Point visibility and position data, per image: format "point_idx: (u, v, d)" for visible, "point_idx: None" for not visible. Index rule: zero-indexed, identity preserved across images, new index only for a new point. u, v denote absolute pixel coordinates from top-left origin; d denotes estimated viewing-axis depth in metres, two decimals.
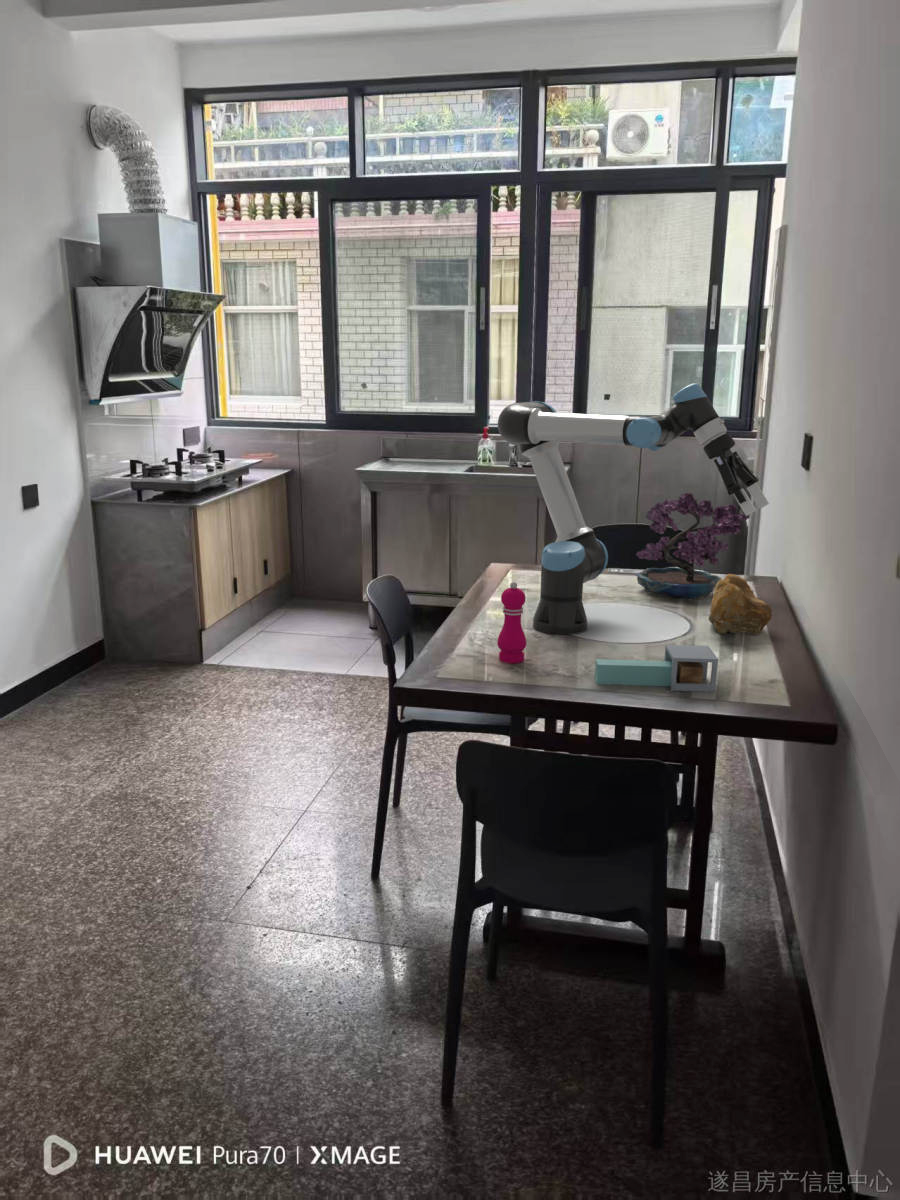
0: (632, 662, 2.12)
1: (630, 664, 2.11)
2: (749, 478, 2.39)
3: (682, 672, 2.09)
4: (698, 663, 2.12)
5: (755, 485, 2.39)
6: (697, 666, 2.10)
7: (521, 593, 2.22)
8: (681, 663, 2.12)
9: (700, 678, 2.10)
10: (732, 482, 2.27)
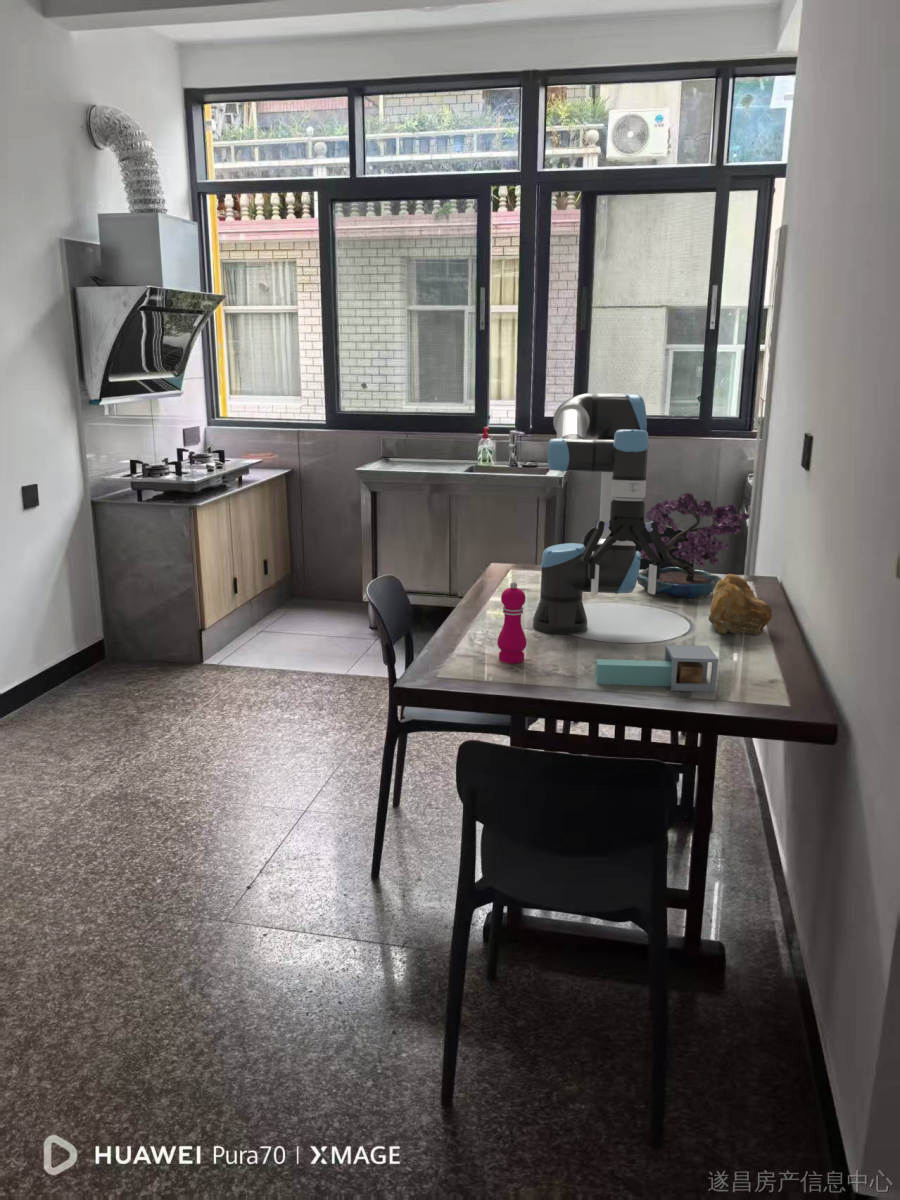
0: (632, 662, 2.12)
1: (630, 664, 2.11)
2: (651, 557, 2.07)
3: (682, 672, 2.09)
4: (698, 663, 2.12)
5: (652, 568, 2.07)
6: (697, 666, 2.10)
7: (521, 593, 2.22)
8: (681, 663, 2.12)
9: (700, 678, 2.10)
10: (585, 554, 2.04)
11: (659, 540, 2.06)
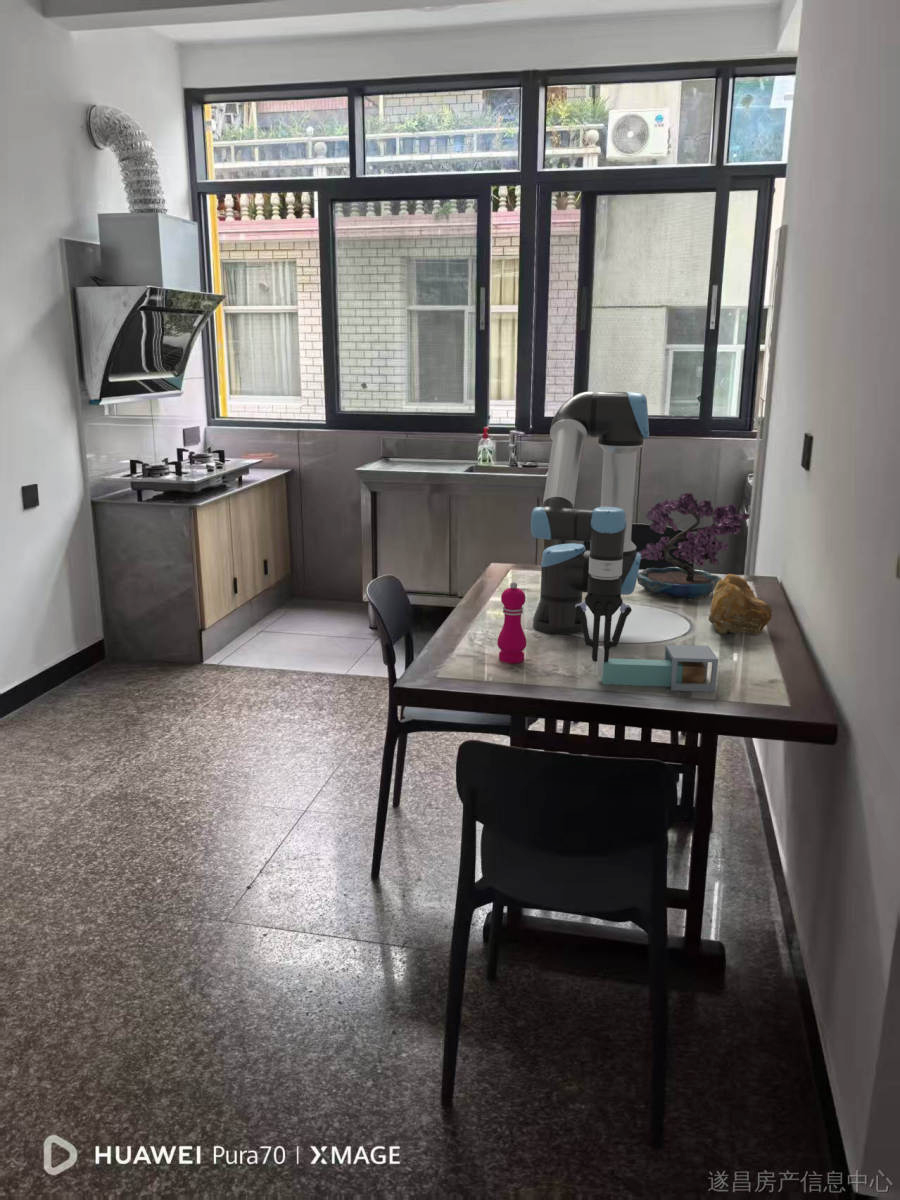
0: (639, 662, 2.12)
1: (637, 663, 2.11)
2: (604, 638, 2.10)
3: (684, 672, 2.09)
4: (700, 663, 2.12)
5: None
6: (699, 666, 2.09)
7: (521, 593, 2.22)
8: (683, 663, 2.11)
9: (702, 678, 2.10)
10: (584, 639, 2.10)
11: (622, 625, 2.09)
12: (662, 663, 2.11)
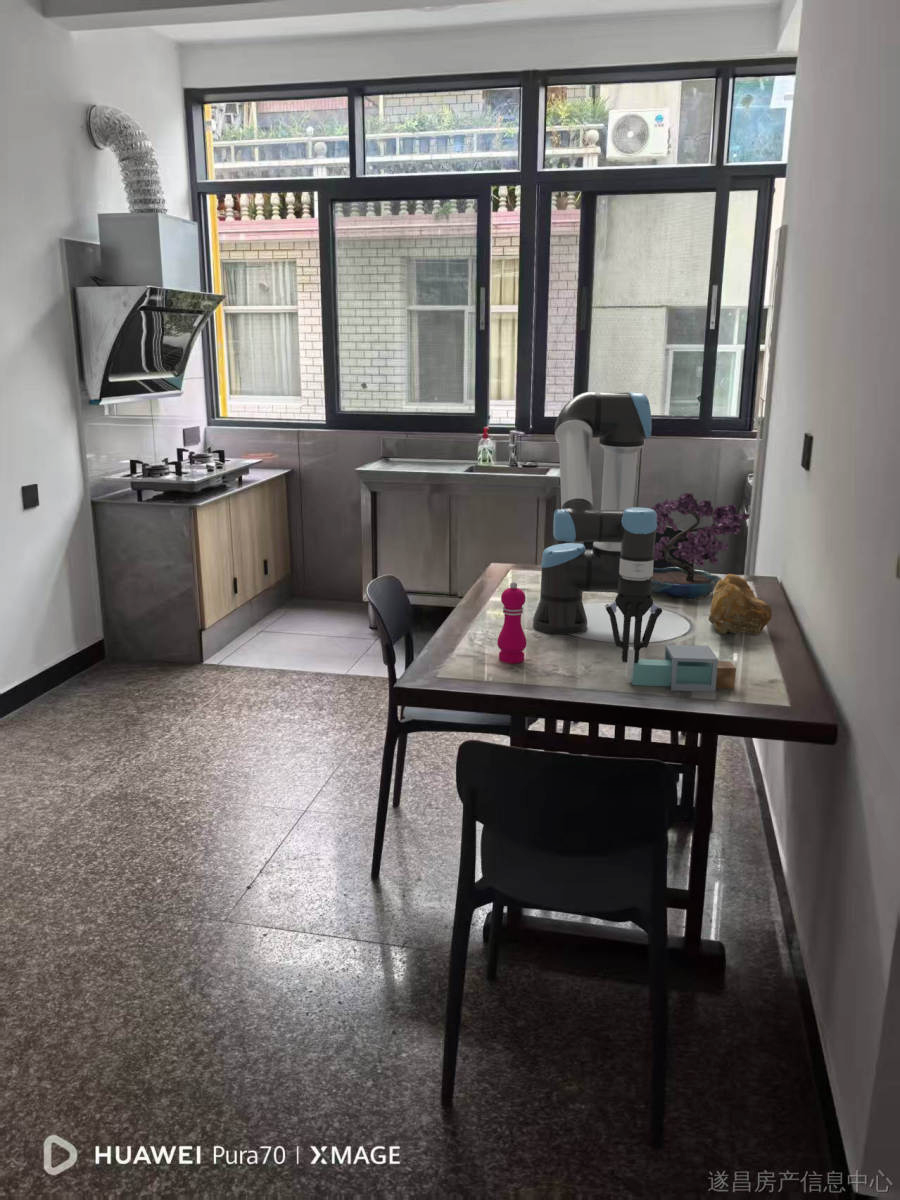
0: (669, 662, 2.12)
1: (667, 664, 2.10)
2: (635, 638, 2.10)
3: None
4: (730, 664, 2.11)
5: None
6: (729, 667, 2.09)
7: (521, 593, 2.22)
8: None
9: (732, 679, 2.09)
10: (614, 640, 2.10)
11: (652, 625, 2.08)
12: (692, 664, 2.11)
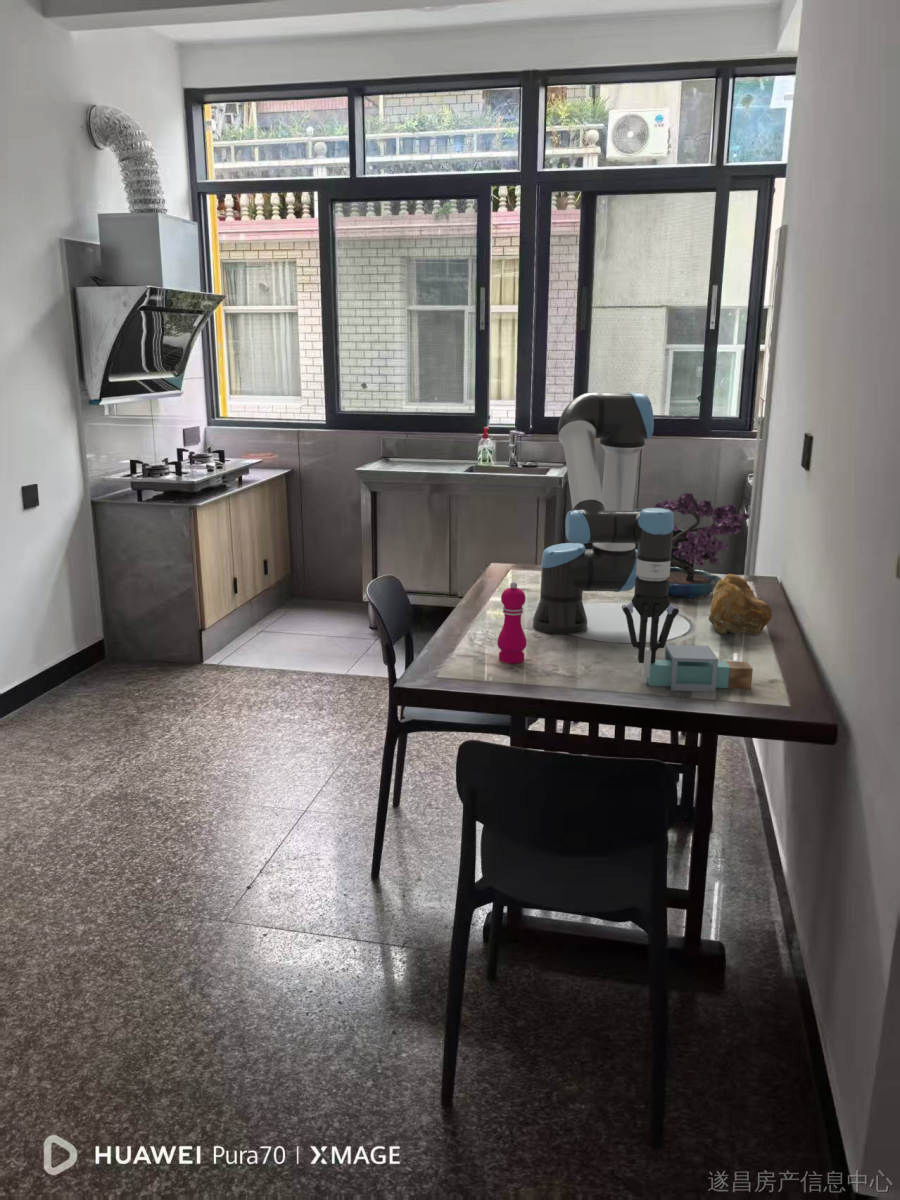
0: (685, 663, 2.11)
1: (684, 664, 2.10)
2: (651, 639, 2.10)
3: (731, 673, 2.09)
4: (747, 664, 2.11)
5: None
6: (746, 667, 2.09)
7: (521, 593, 2.22)
8: (730, 664, 2.11)
9: (749, 679, 2.09)
10: (631, 641, 2.10)
11: (669, 626, 2.08)
12: (709, 664, 2.11)
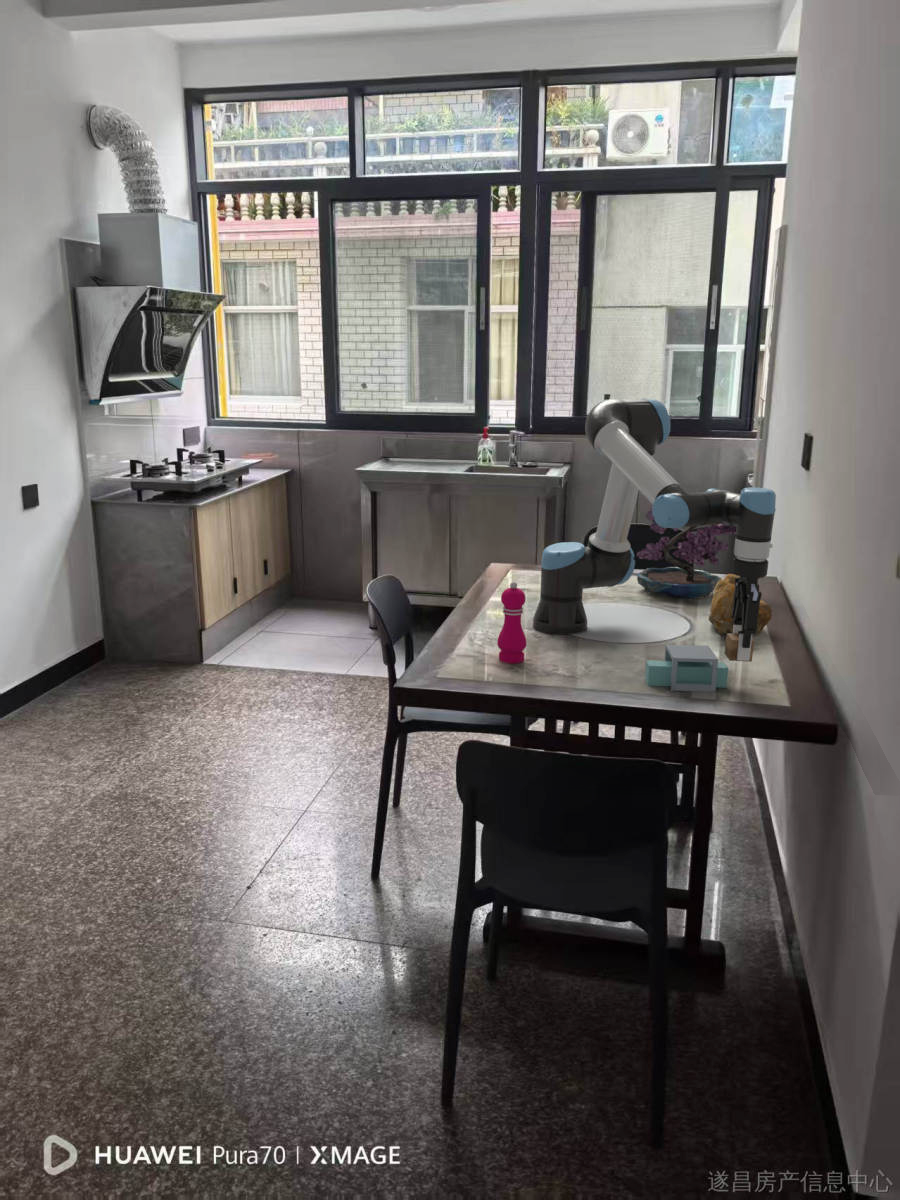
0: (684, 663, 2.12)
1: (682, 665, 2.11)
2: None
3: (732, 645, 2.08)
4: None
5: None
6: None
7: (521, 593, 2.22)
8: (731, 636, 2.10)
9: None
10: (754, 628, 2.02)
11: None
12: (707, 665, 2.11)
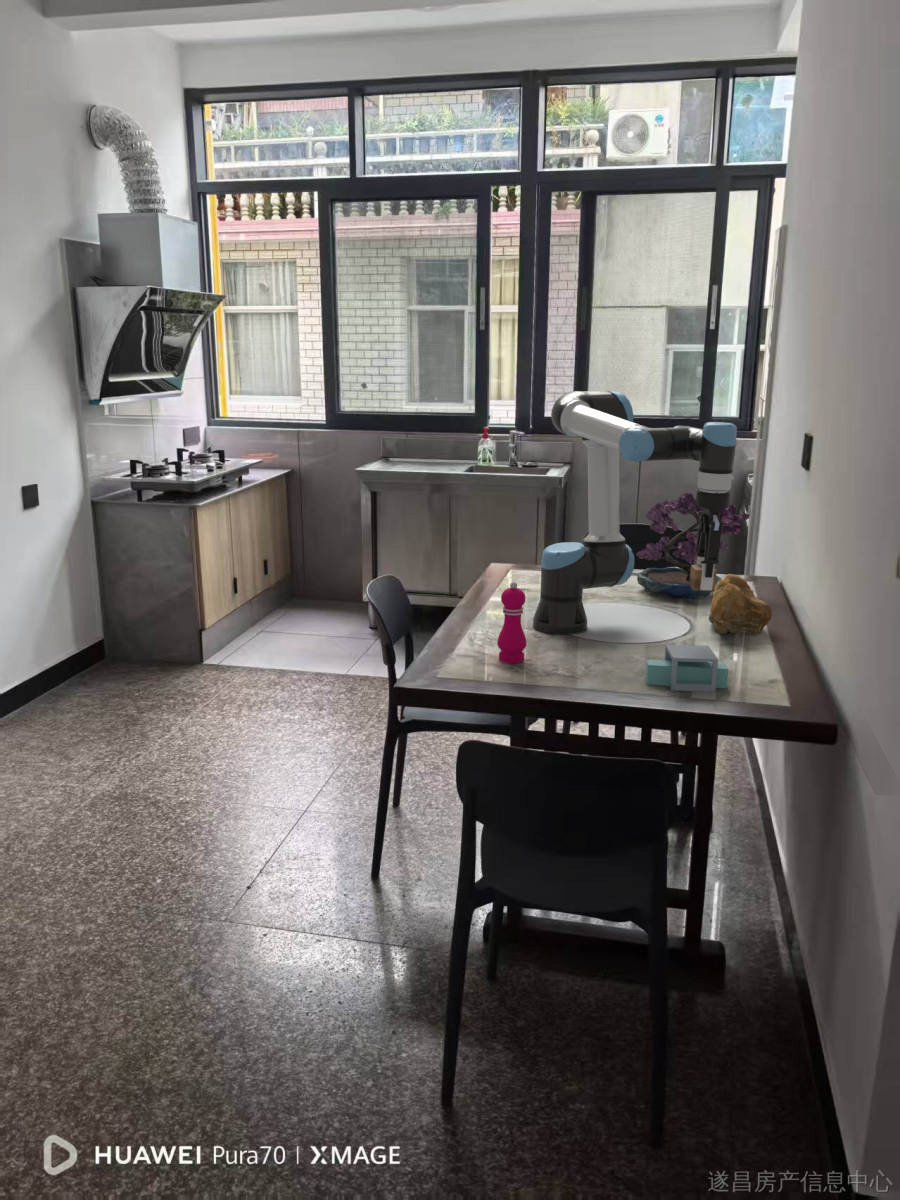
0: (684, 663, 2.12)
1: (681, 665, 2.11)
2: None
3: (696, 575, 2.16)
4: None
5: None
6: None
7: (521, 593, 2.22)
8: (695, 567, 2.18)
9: (713, 581, 2.16)
10: (716, 557, 2.10)
11: None
12: (707, 665, 2.11)
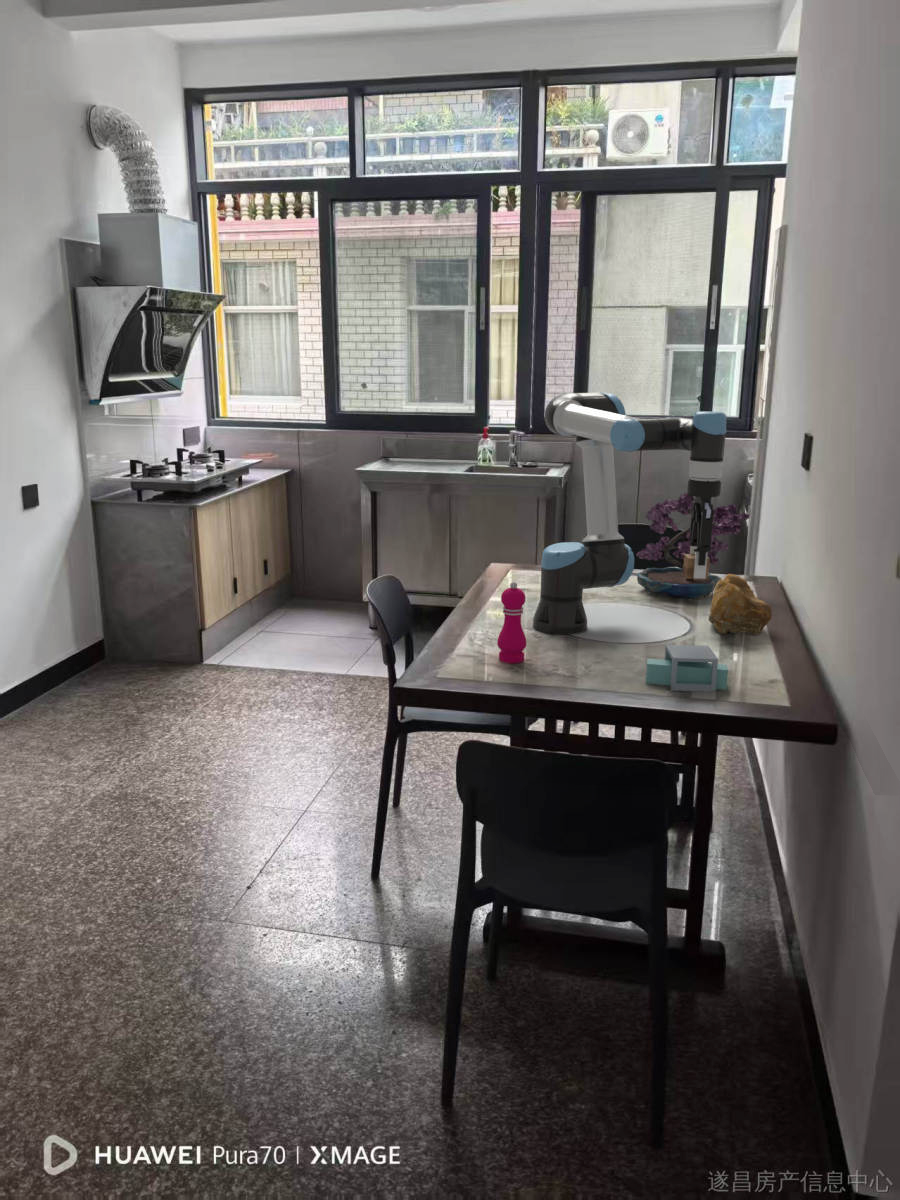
0: (684, 663, 2.12)
1: (681, 665, 2.11)
2: None
3: (689, 563, 2.17)
4: None
5: None
6: None
7: (521, 593, 2.22)
8: (688, 556, 2.19)
9: (706, 569, 2.17)
10: (708, 544, 2.12)
11: None
12: (707, 666, 2.10)
